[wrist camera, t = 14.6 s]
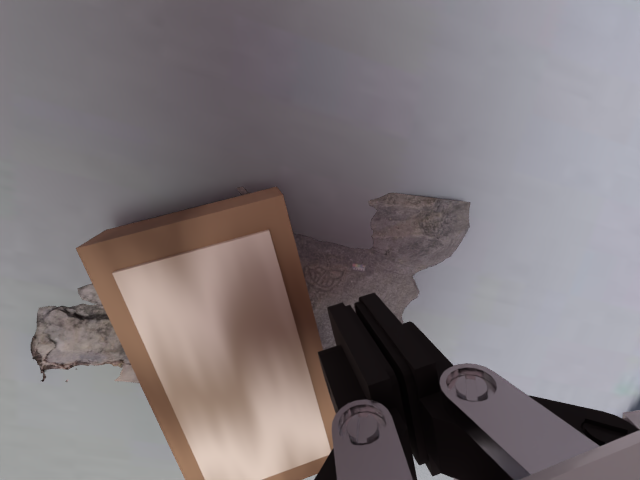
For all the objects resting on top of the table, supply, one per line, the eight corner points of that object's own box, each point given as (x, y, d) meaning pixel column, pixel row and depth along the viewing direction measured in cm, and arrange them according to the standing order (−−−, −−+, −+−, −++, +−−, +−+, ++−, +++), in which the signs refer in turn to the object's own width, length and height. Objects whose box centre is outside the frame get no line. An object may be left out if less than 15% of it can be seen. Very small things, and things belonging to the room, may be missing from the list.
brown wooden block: (276, 186, 14) (106, 229, 13) (283, 196, 11) (73, 250, 10) (337, 419, 17) (208, 465, 16) (353, 464, 15) (202, 521, 14)
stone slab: (476, 190, 15) (441, 388, 17) (453, 188, 17) (424, 368, 19) (12, 149, 12) (32, 404, 14) (43, 151, 14) (58, 377, 16)
